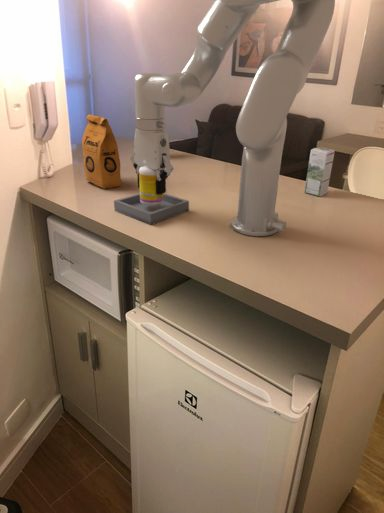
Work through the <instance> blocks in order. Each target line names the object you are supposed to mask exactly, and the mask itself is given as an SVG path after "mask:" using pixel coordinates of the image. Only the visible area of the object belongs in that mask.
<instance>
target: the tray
mask: <svg viewBox="0 0 384 513" xmlns="http://www.w3.org/2000/svg"><path fill="white" fill-rule="evenodd" d="M113 207H114V212H117V213H119V214H121V215H125V216H127V217H129V218H132V219H135V220H137V221H140V222H142V223H145V224H147V225H149V226H151V225H155V224H158V223H160V222H162V221H166V220H168V219H171V218H173V217H176V216H180V215H181V214H184V213H187V212H189V209H190V202H189V200H187V199H184V198H180V197H177V196H175V195H172V194H169V193H168V194H167V193H166V192H165V193H163V202H162V203H161V204H160V205H156V206H148V205H144V204H142V203H141V202H140V192H138V193H135V194H132V195H128V196H125V197H123V198H122V197H121V198H119V199H115V200H113Z"/></svg>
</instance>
